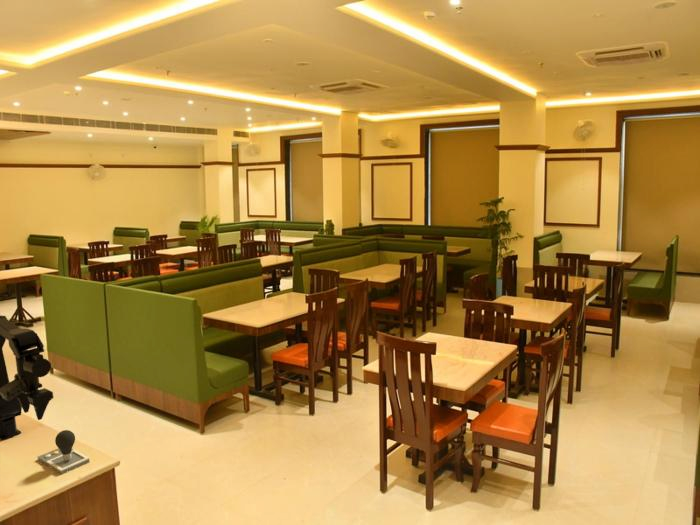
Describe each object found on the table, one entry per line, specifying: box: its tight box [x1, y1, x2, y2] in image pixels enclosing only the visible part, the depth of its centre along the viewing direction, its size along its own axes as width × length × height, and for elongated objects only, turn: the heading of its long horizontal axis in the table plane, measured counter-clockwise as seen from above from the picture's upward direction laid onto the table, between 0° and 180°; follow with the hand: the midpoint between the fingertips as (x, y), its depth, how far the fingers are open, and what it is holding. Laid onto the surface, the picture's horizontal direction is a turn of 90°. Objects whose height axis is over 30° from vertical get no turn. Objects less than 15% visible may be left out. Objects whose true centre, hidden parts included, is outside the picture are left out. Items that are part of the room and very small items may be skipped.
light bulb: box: [54, 429, 76, 461], centre depth 180 cm, size 6×6×10 cm
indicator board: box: [37, 447, 90, 475], centre depth 183 cm, size 15×9×1 cm, turn 53°
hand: (33, 415), depth 186 cm, fingers open, 9 cm apart
